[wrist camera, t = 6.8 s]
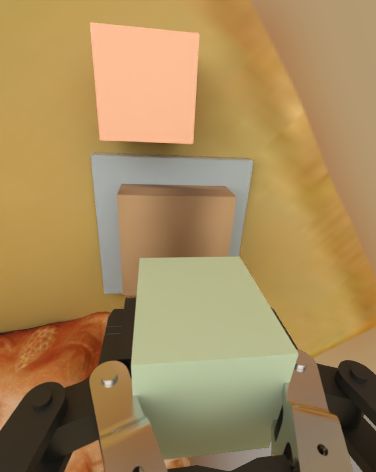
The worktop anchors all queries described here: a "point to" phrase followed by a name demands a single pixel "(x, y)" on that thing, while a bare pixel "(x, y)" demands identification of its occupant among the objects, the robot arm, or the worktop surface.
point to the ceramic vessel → (56, 371)
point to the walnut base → (171, 224)
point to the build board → (159, 173)
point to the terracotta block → (145, 83)
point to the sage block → (207, 356)
